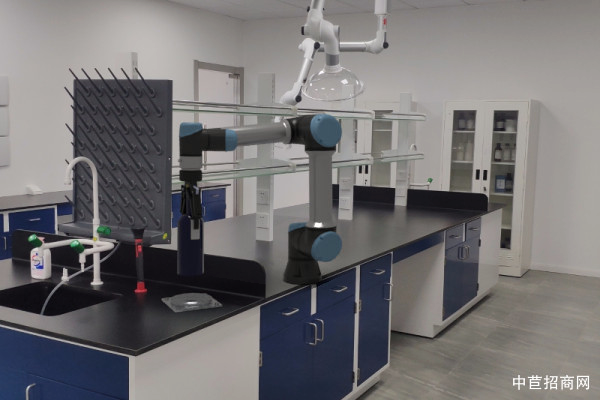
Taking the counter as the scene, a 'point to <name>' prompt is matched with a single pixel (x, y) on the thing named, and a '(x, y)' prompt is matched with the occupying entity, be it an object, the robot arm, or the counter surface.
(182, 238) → the bottle
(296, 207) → the counter surface
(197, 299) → the flange plate
